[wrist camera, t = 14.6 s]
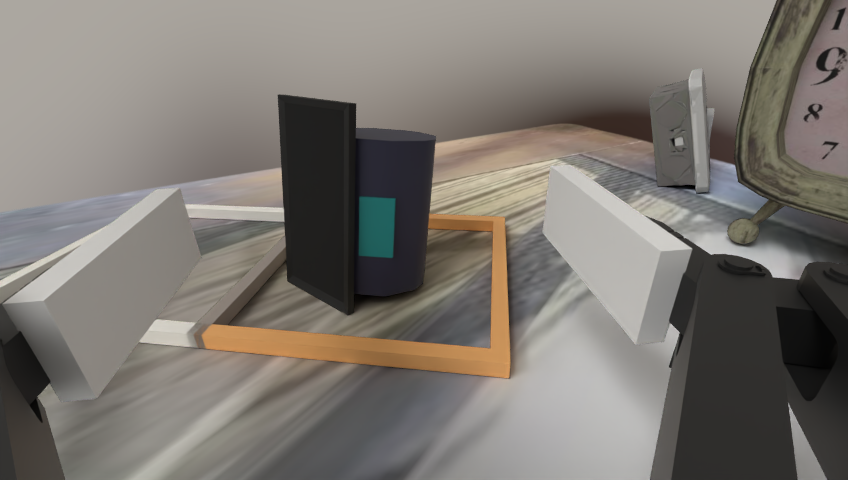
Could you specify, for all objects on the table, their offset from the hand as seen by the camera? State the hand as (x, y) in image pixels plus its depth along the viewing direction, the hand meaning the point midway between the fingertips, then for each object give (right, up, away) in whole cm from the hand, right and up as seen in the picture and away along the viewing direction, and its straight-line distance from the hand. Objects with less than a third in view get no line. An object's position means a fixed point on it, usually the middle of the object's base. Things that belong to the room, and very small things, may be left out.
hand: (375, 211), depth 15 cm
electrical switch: (+25, +5, +24) cm, 35 cm away
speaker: (-1, -3, +10) cm, 10 cm away
